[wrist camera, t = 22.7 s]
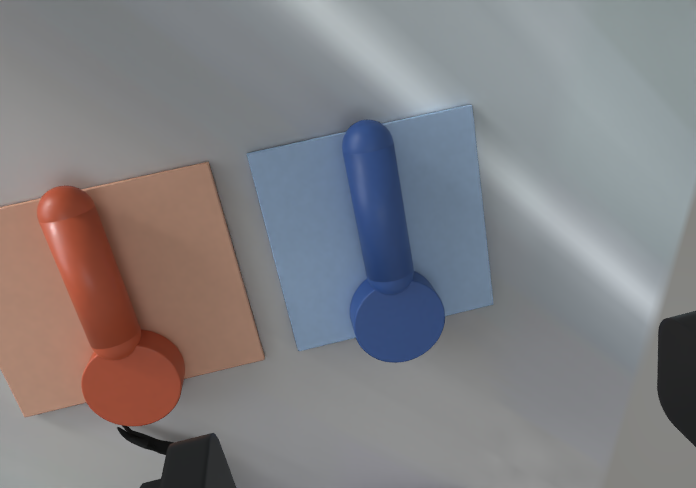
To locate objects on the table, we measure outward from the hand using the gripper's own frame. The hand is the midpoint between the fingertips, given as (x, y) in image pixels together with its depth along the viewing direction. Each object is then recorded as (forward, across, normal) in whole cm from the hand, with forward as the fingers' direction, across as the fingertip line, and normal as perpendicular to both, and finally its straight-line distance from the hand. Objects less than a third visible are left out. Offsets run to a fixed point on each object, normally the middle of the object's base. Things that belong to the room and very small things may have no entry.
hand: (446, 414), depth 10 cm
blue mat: (+22, -2, +6) cm, 23 cm away
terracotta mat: (+22, +13, +5) cm, 26 cm away
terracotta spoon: (+22, +13, +6) cm, 26 cm away
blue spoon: (+21, -2, +6) cm, 22 cm away
